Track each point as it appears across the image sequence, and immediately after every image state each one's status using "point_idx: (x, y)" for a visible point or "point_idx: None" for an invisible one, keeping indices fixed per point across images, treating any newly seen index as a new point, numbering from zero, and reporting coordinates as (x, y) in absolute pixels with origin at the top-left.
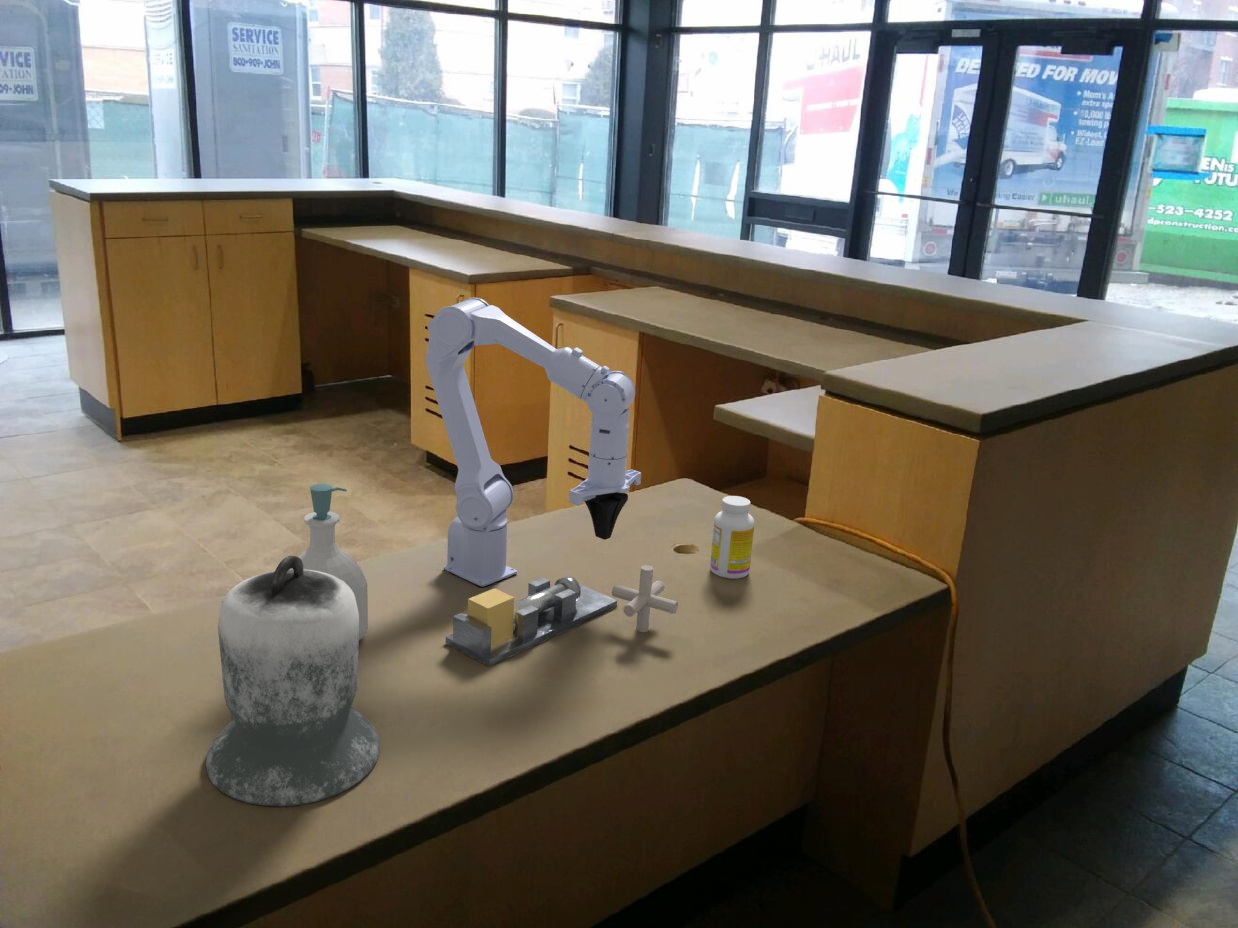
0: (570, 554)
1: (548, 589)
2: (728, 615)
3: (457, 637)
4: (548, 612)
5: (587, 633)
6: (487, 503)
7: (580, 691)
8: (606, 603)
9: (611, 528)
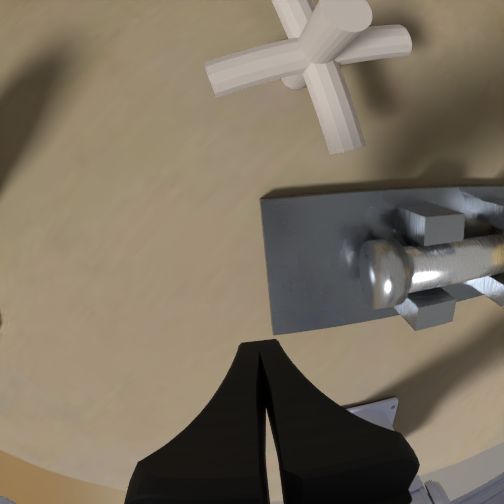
0: (175, 422)
1: (449, 274)
2: (85, 30)
3: None
4: None
5: (402, 146)
6: None
7: (501, 43)
8: (295, 205)
9: (252, 362)
